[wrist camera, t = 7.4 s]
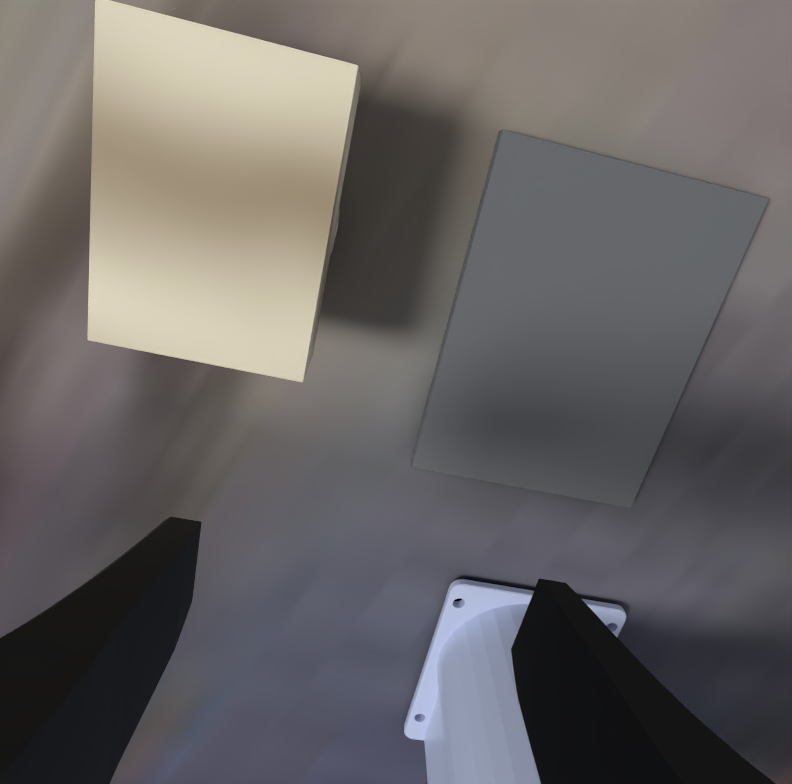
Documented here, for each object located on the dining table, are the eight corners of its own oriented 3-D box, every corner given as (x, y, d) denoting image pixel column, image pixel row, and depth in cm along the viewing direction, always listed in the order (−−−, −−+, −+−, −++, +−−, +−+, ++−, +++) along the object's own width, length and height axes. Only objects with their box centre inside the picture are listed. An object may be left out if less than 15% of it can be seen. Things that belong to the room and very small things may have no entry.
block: (312, 354, 17) (302, 382, 15) (127, 317, 16) (87, 339, 14) (361, 81, 14) (358, 65, 12) (141, 25, 14) (95, -4, 11)
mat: (624, 500, 23) (630, 508, 22) (411, 460, 22) (411, 467, 21) (757, 197, 18) (769, 198, 18) (499, 130, 18) (503, 129, 17)
